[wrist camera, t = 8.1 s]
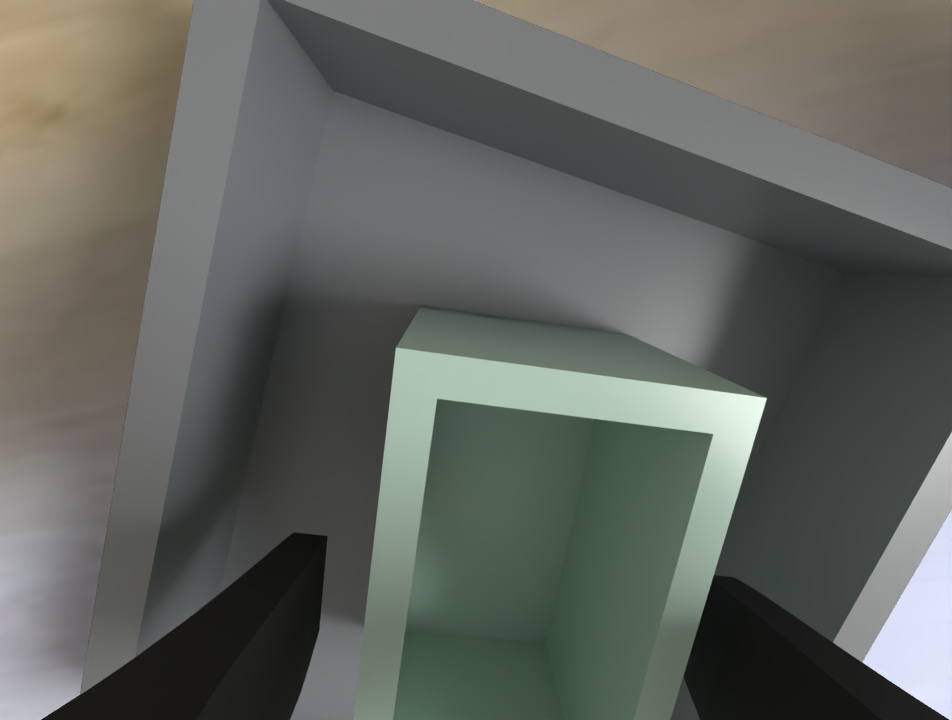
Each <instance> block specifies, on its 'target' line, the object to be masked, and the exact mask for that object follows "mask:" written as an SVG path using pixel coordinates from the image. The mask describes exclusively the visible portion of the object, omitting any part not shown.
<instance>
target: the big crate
mask: <svg viewBox="0 0 952 720" xmlns="http://www.w3.org/2000/svg"><path fill="white" fill-rule="evenodd" d="M421 305H426V306H433V307H440V308H446V309H453V310H460V311H467V312H474V313H481V314H488V315H495V316H502V317H509V318H516V319H523V320H530V321H537V322H544V323H551V324H558V325H565V326H571V327H578V328H585V329H592V330H599V331H606V332H613V333H620V334H627V335H630V336H632V337H635V338H637V339H639V340H641V341H643V342H646V343H648V344H650V345H652V346H654V347H656V348H659V349H661V350H663V351H665V352H667V353H670V354H672V355H674V356H676V357H678V358H681V359H683V360H685V361H687V362H689V363H692V364H694V365H696V366H698V367H700V368H702V369H705V370H707V371H709V372H711V373H713V374H716V375H718V376H720V377H722V378H724V379H727V380H729V381H731V382H733V383H735V384H738V385H740V386H742V387H744V388H746V389H748V390H751V391H753V392H755V393H757V394H759V395H762V396H764V397H766V398H767V400H766V403H765V406H764V410H763V413H762V416H761V420H760V423H759V426H758V430H757V433H756V436H755V440H754V443H753V446H752V450H751V453H750V456H749V460H748V463H747V466H746V470H745V473H744V476H743V480H742V483H741V486H740V489H739V493H738V496H737V499H736V503H735V506H734V509H733V513H732V516H731V519H730V523H729V526H728V529H727V533H726V536H725V539H724V543H723V546H722V549H721V553H720V556H719V559H718V563H717V566H716V569H715V573H714V575H718V576H728V577H734V578H736V579H738V580H740V581H741V582H743V583H745V584H747V585H748V586H750V587H751V588H753V589H755V590H756V591H758V592H759V593H761V594H762V595H764V596H766V597H767V598H769V599H770V600H772V601H773V602H774V603H776V604H777V605H779V606H780V607H782V608H783V609H785V610H786V611H788V612H789V613H791V614H792V615H794V616H795V617H797V618H798V619H800V620H801V621H802V622H804V623H805V624H807V625H808V626H810V627H811V628H813V629H814V630H815V631H817V632H818V633H820V634H821V635H823V636H824V637H826V638H827V639H829V640H830V641H831V642H833V643H834V644H836V645H837V646H839V647H840V648H842V649H843V650H845V651H846V652H847V653H849V654H850V655H852V656H853V657H855V658H856V659H858V660H859V661H861V662H862V661H863V660H864V658H865V656H866V655H867V653H868V651H869V650H870V648H871V646H872V644H873V643H874V641H875V639H876V638H877V636H878V634H879V632H880V631H881V629H882V627H883V626H884V624H885V622H886V620H887V619H888V617H889V615H890V614H891V612H892V610H893V609H894V607H895V605H896V603H897V602H898V600H899V598H900V597H901V595H902V593H903V591H904V590H905V588H906V586H907V585H908V583H909V581H910V580H911V578H912V576H913V574H914V573H915V571H916V569H917V568H918V566H919V564H920V562H921V561H922V559H923V557H924V556H925V554H926V552H927V551H928V549H929V547H930V545H931V544H932V542H933V540H934V539H935V537H936V535H937V533H938V532H939V530H940V528H941V527H942V525H943V523H944V521H945V520H946V518H947V516H948V515H949V513H950V511H951V510H952V188H950V187H948V186H945V185H942V184H940V183H937V182H935V181H932V180H930V179H927V178H925V177H922V176H920V175H917V174H914V173H912V172H909V171H907V170H904V169H902V168H899V167H897V166H894V165H891V164H889V163H886V162H884V161H881V160H879V159H876V158H874V157H871V156H868V155H866V154H863V153H861V152H858V151H856V150H853V149H851V148H848V147H845V146H843V145H840V144H838V143H835V142H833V141H830V140H828V139H825V138H822V137H820V136H817V135H815V134H812V133H810V132H807V131H805V130H802V129H799V128H797V127H794V126H792V125H789V124H787V123H784V122H782V121H779V120H776V119H774V118H771V117H769V116H766V115H764V114H761V113H759V112H756V111H754V110H751V109H748V108H746V107H743V106H741V105H738V104H736V103H733V102H731V101H728V100H725V99H723V98H720V97H718V96H715V95H713V94H710V93H708V92H705V91H702V90H700V89H697V88H695V87H692V86H690V85H687V84H685V83H682V82H679V81H677V80H674V79H672V78H669V77H667V76H664V75H662V74H659V73H656V72H654V71H651V70H649V69H646V68H644V67H641V66H639V65H636V64H633V63H631V62H628V61H626V60H623V59H621V58H618V57H616V56H613V55H611V54H608V53H605V52H603V51H600V50H598V49H595V48H593V47H590V46H588V45H585V44H582V43H580V42H577V41H575V40H572V39H570V38H567V37H565V36H562V35H559V34H557V33H554V32H552V31H549V30H547V29H544V28H542V27H539V26H536V25H534V24H531V23H529V22H526V21H524V20H521V19H519V18H516V17H513V16H511V15H508V14H506V13H503V12H501V11H498V10H496V9H493V8H490V7H488V6H485V5H483V4H480V3H478V2H475V1H473V0H194V2H193V8H192V14H191V20H190V26H189V32H188V38H187V44H186V51H185V57H184V63H183V69H182V75H181V81H180V87H179V93H178V99H177V105H176V112H175V118H174V124H173V130H172V136H171V142H170V148H169V154H168V160H167V166H166V173H165V179H164V185H163V191H162V197H161V203H160V209H159V215H158V221H157V227H156V234H155V240H154V246H153V252H152V258H151V264H150V270H149V276H148V282H147V288H146V295H145V301H144V307H143V313H142V319H141V325H140V331H139V337H138V343H137V349H136V356H135V362H134V368H133V374H132V380H131V386H130V392H129V398H128V404H127V410H126V417H125V423H124V429H123V435H122V441H121V447H120V453H119V459H118V465H117V471H116V478H115V484H114V490H113V496H112V502H111V508H110V514H109V520H108V526H107V532H106V538H105V545H104V551H103V557H102V563H101V569H100V575H99V581H98V587H97V593H96V599H95V606H94V612H93V618H92V624H91V630H90V636H89V642H88V648H87V654H86V660H85V667H84V673H83V679H82V685H81V691H80V695H81V694H82V693H84V692H85V691H87V690H88V689H90V688H91V687H93V686H94V685H96V684H97V683H99V682H100V681H102V680H103V679H105V678H106V677H107V676H109V675H110V674H112V673H113V672H115V671H116V670H118V669H119V668H121V667H122V666H123V665H125V664H126V663H128V662H129V661H131V660H132V659H133V658H135V657H136V656H137V655H139V654H140V653H142V652H143V651H144V650H146V649H147V648H148V647H150V646H151V645H152V644H154V643H155V642H157V641H158V640H159V639H161V638H162V637H163V636H165V635H166V634H167V633H169V632H170V631H172V630H173V629H174V628H176V627H177V626H178V625H180V624H181V623H182V622H184V621H185V620H186V619H188V618H189V617H190V616H192V615H193V614H194V613H196V612H197V611H198V610H199V609H201V608H202V607H203V606H204V605H206V604H207V603H208V602H209V601H211V600H212V599H213V598H214V597H216V596H217V595H218V594H219V593H221V592H222V591H223V590H224V589H226V588H227V587H228V586H229V585H231V584H232V583H233V582H234V581H236V580H237V579H238V578H239V577H240V576H242V575H243V574H244V573H245V572H246V571H248V570H249V569H250V568H251V567H252V566H254V565H255V564H256V563H257V562H258V561H259V560H261V559H262V558H263V557H264V556H265V555H267V554H268V553H269V552H270V551H271V550H272V549H274V548H275V547H276V546H277V545H278V544H279V543H281V542H282V541H283V540H284V539H286V538H287V537H288V536H289V535H291V534H292V533H294V532H295V533H305V534H314V535H324V536H328V538H327V549H326V560H325V572H324V583H323V595H322V606H321V618H320V629H319V634H318V637H317V641H316V644H315V647H314V651H313V654H312V658H311V661H310V665H309V668H308V671H307V674H306V678H305V681H304V684H303V688H302V691H301V694H300V696H299V699H298V701H297V704H296V706H295V709H294V711H293V714H292V716H291V719H290V720H353V719H354V710H355V701H356V693H357V684H358V675H359V666H360V658H361V649H362V640H363V631H364V623H365V614H366V605H367V596H368V588H369V579H370V570H371V561H372V553H373V544H374V535H375V527H376V518H377V509H378V500H379V492H380V483H381V474H382V465H383V457H384V448H385V439H386V430H387V422H388V413H389V404H390V395H391V387H392V378H393V369H394V360H395V352H396V347H397V345H398V343H399V342H400V340H401V338H402V337H403V335H404V333H405V332H406V330H407V328H408V327H409V325H410V323H411V322H412V320H413V318H414V317H415V315H416V313H417V312H418V310H419V308H420V307H421ZM670 720H700V718H699V716H698V713H697V711H696V708H695V706H694V703H693V701H692V698H691V696H690V693H689V690H688V688H687V685H686V682H685V679H684V676H683V679H682V682H681V686H680V689H679V692H678V696H677V699H676V702H675V706H674V709H673V712H672V715H671V719H670Z"/></svg>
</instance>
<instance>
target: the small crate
mask: <svg viewBox="0 0 952 720" xmlns="http://www.w3.org/2000/svg"><path fill="white" fill-rule="evenodd" d="M766 400H767V398H766V397H764V396H762V395H759V394H757V393H755V392H753V391H751V390H748V389H746V388H744V387H742V386H740V385H738V384H735V383H733V382H731V381H729V380H727V379H724V378H722V377H720V376H718V375H716V374H713V373H711V372H709V371H707V370H705V369H702V368H700V367H698V366H696V365H694V364H692V363H689V362H687V361H685V360H683V359H681V358H678V357H676V356H674V355H672V354H670V353H667V352H665V351H663V350H661V349H659V348H656V347H654V346H652V345H650V344H648V343H646V342H643V341H641V340H639V339H637V338H635V337H632V336H630V335H627V334H620V333H613V332H606V331H599V330H592V329H585V328H578V327H571V326H565V325H558V324H551V323H544V322H537V321H530V320H523V319H516V318H509V317H502V316H495V315H488V314H481V313H474V312H467V311H460V310H453V309H446V308H440V307H433V306H426V305H421V307H420V308H419V310H418V312H417V313H416V315H415V317H414V318H413V320H412V322H411V323H410V325H409V327H408V328H407V330H406V332H405V333H404V335H403V337H402V338H401V340H400V342H399V343H398V345H397V347H396V352H395V360H394V369H393V378H392V387H391V395H390V404H389V413H388V422H387V430H386V439H385V448H384V457H383V465H382V474H381V483H380V492H379V500H378V509H377V518H376V527H375V535H374V544H373V553H372V561H371V570H370V579H369V588H368V596H367V605H366V614H365V623H364V631H363V640H362V649H361V658H360V666H359V675H358V684H357V693H356V701H355V710H354V719H353V720H670V719H671V715H672V712H673V709H674V706H675V702H676V699H677V696H678V692H679V689H680V686H681V682H682V679H683V676H684V672H685V669H686V666H687V662H688V659H689V656H690V652H691V649H692V646H693V642H694V639H695V636H696V632H697V629H698V626H699V622H700V619H701V616H702V612H703V609H704V606H705V602H706V599H707V596H708V593H709V589H710V586H711V583H712V579H713V576H714V573H715V569H716V566H717V563H718V559H719V556H720V553H721V549H722V546H723V543H724V539H725V536H726V533H727V529H728V526H729V523H730V519H731V516H732V513H733V509H734V506H735V503H736V499H737V496H738V493H739V489H740V486H741V483H742V480H743V476H744V473H745V470H746V466H747V463H748V460H749V456H750V453H751V450H752V446H753V443H754V440H755V436H756V433H757V430H758V426H759V423H760V420H761V416H762V413H763V410H764V406H765V403H766Z"/></svg>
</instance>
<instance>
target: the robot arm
mask: <svg viewBox="0 0 952 720" xmlns="http://www.w3.org/2000/svg"><path fill="white" fill-rule="evenodd" d="M327 538H328V536H324V535H314V534H305V533H295V532H294V533H292V534H291V535H289V536H288V537H287V538H286V539H284V540H283V541H282V542H281V543H279V544H278V545H277V546H276V547H275V548H274V549H272V550H271V551H270V552H269V553H268V554H267V555H265V556H264V557H263V558H262V559H261V560H259V561H258V562H257V563H256V564H255V565H254V566H252V567H251V568H250V569H249V570H248V571H246V572H245V573H244V574H243V575H242V576H240V577H239V578H238V579H237V580H236V581H234V582H233V583H232V584H231V585H229V586H228V587H227V588H226V589H224V590H223V591H222V592H221V593H219V594H218V595H217V596H216V597H214V598H213V599H212V600H211V601H209V602H208V603H207V604H206V605H204V606H203V607H202V608H201V609H199V610H198V611H197V612H196V613H194V614H193V615H192V616H190V617H189V618H188V619H186V620H185V621H184V622H182V623H181V624H180V625H178V626H177V627H176V628H174V629H173V630H172V631H170V632H169V633H167V634H166V635H165V636H163V637H162V638H161V639H159V640H158V641H157V642H155V643H154V644H152V645H151V646H150V647H148V648H147V649H146V650H144V651H143V652H142V653H140V654H139V655H137V656H136V657H135V658H133V659H132V660H131V661H129V662H128V663H126V664H125V665H123V666H122V667H121V668H119V669H118V670H116V671H115V672H113V673H112V674H110V675H109V676H107V677H106V678H105V679H103V680H102V681H100V682H99V683H97V684H96V685H94V686H93V687H91V688H90V689H88V690H87V691H85V692H84V693H82V694H81V695H79V696H77V697H76V698H74V699H73V700H71V701H70V702H68V703H67V704H65V705H63V706H62V707H60V708H59V709H57V710H56V711H54V712H52V713H51V714H49V715H48V716H46V717H45V718H43V719H42V720H290V719H291V716H292V714H293V711H294V709H295V706H296V704H297V701H298V699H299V696H300V694H301V691H302V688H303V684H304V681H305V678H306V674H307V671H308V668H309V665H310V661H311V658H312V654H313V651H314V647H315V644H316V641H317V637H318V634H319V629H320V618H321V606H322V595H323V583H324V572H325V560H326V549H327ZM684 679H685V682H686V685H687V688H688V690H689V693H690V696H691V698H692V701H693V703H694V706H695V708H696V711H697V713H698V716H699V718H700V720H949V719H947V718H946V717H944V716H942V715H941V714H939V713H938V712H936V711H935V710H933V709H932V708H930V707H928V706H927V705H925V704H924V703H922V702H921V701H919V700H918V699H916V698H914V697H913V696H911V695H910V694H908V693H907V692H905V691H904V690H902V689H901V688H899V687H898V686H896V685H895V684H893V683H892V682H890V681H889V680H887V679H886V678H884V677H883V676H881V675H880V674H878V673H877V672H875V671H874V670H872V669H871V668H869V667H868V666H867V665H865V664H864V663H862V662H861V661H859V660H858V659H856V658H855V657H853V656H852V655H850V654H849V653H847V652H846V651H845V650H843V649H842V648H840V647H839V646H837V645H836V644H834V643H833V642H831V641H830V640H829V639H827V638H826V637H824V636H823V635H821V634H820V633H818V632H817V631H815V630H814V629H813V628H811V627H810V626H808V625H807V624H805V623H804V622H802V621H801V620H800V619H798V618H797V617H795V616H794V615H792V614H791V613H789V612H788V611H786V610H785V609H783V608H782V607H780V606H779V605H777V604H776V603H774V602H773V601H772V600H770V599H769V598H767V597H766V596H764V595H762V594H761V593H759V592H758V591H756V590H755V589H753V588H751V587H750V586H748V585H747V584H745V583H743V582H741V581H740V580H738V579H736V578H734V577H728V576H718V575H714V576H713V579H712V583H711V586H710V589H709V593H708V596H707V599H706V602H705V606H704V609H703V612H702V616H701V619H700V622H699V626H698V629H697V632H696V636H695V639H694V642H693V646H692V649H691V652H690V656H689V659H688V662H687V666H686V669H685V672H684Z"/></svg>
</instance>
